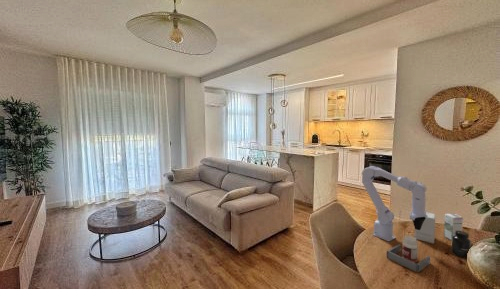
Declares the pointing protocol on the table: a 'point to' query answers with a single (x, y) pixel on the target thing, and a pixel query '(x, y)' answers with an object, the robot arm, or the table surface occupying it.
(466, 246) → the supplement bottle
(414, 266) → the box
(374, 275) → the table surface
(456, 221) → the syrup box
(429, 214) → the supplement box
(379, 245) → the table surface
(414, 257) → the pill bottle
